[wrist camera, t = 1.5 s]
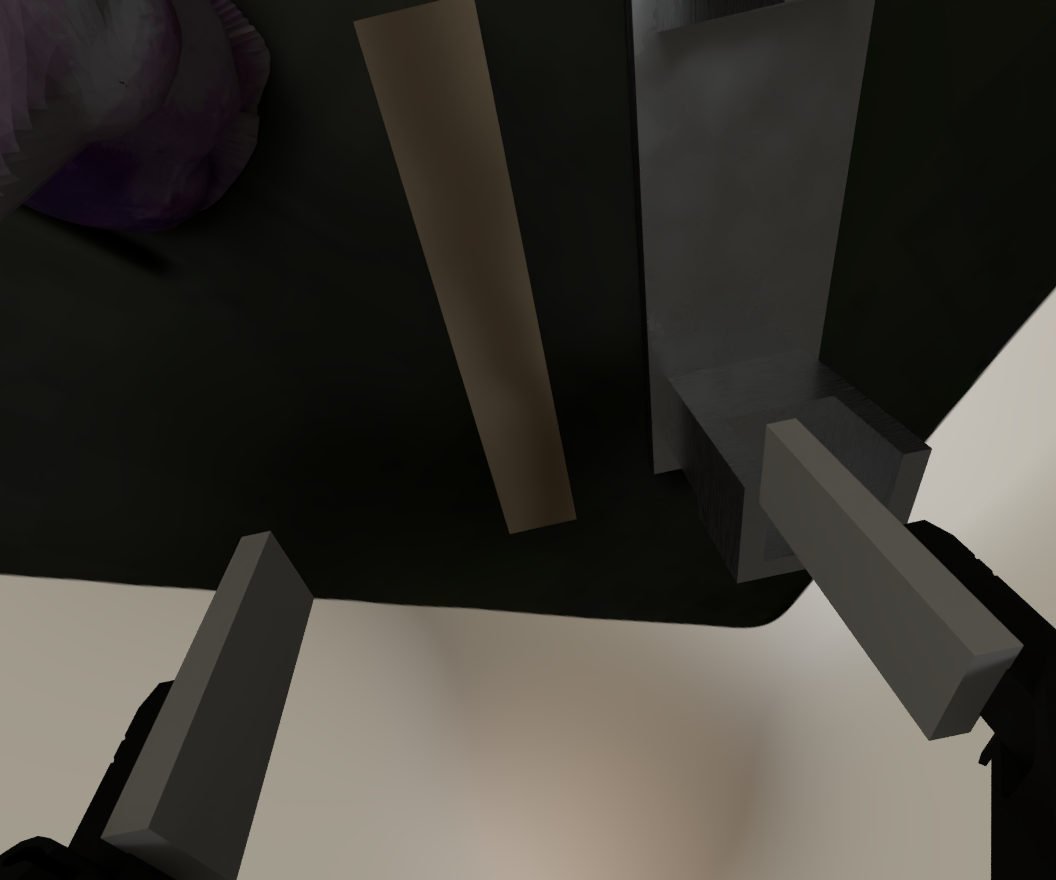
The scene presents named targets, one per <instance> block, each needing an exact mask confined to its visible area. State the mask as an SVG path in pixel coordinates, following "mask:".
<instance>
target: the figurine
mask: <svg viewBox="0 0 1056 880" xmlns="http://www.w3.org/2000/svg"><path fill="white" fill-rule="evenodd" d="M270 64H271V57H270V52H269V50H268V48H267V47H266V46H265V41H264V39H263V38H262V37H261V35H260V34H259V33H258V31H257V30H256V29H255V28H254V26H252V25H250V24H249V21H248V19H246V18H244V17H243V14H242V12H241V11H239V10H238V9H237V6H236V5H235V4H233V3H232V2H231V0H0V222H2V221H3V220H4V219H5V218H6V217H7V216H8V215H10V214H11V213H12V212H13V211H14V210H15V209H17V208H18V207H19V206H20V205H21V204H24V205H26V206H28V207H30V208H33V209H35V210H37V211H39V212H42V213H44V214H47V215H50V216H53V217H56V218H59V219H62V220H65V221H69V222H73V223H76V224H80V225H84V226H89V227H96V228H104V229H113V230H121V231H130V232H138V233H148V232H156V231H164V230H168V229H172V228H174V227H176V226H178V225H179V224H181V223H182V222H184V221H186V220H187V219H189V218H190V217H192V216H194V215H195V214H197V213H198V212H200V211H202V210H204V209H206V208H208V207H209V206H211V205H213V204H214V203H215V202H216V201H217V200H219V199H220V198H221V197H222V196H223V195H224V193H225V192H226V191H227V190H228V188H229V187H230V186H231V185H232V183H233V182H234V181H235V180H236V178H237V177H238V176H239V175H240V173H241V172H242V171H243V169H244V168H245V166H246V164H247V163H248V161H249V159H250V156H251V155H252V153H253V152H254V149H255V147H256V146H257V138H258V129H259V117H260V116H258V110H257V105H258V104H259V103H260V98H261V95H262V93H263V90H264V87H265V85H266V83H267V80H268V77H269V74H270Z"/></svg>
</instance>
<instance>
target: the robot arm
mask: <svg viewBox="0 0 1056 880" xmlns="http://www.w3.org/2000/svg"><path fill="white" fill-rule="evenodd" d="M759 504H760V505H761V507H762V508H763V509H764V511H765V512H766V514H767V515H768V516H769V518H770V519H771V521H772V522H773V523H774V525H775V526H776V528H777V529H778V530H779V532H780V533H781V535H782V536H783V537H784V539H785V540H786V542H787V543H788V544H789V546H790V547H791V549H792V550H793V551H794V553H795V554H796V556H797V557H798V558H799V560H800V561H801V563H802V564H803V565H804V567H805V568H806V570H807V571H808V572H809V574H810V575H811V577H812V578H813V579H814V581H815V582H816V583H817V585H818V586H819V587H820V589H821V591H822V592H823V593H824V595H825V596H826V597H827V599H828V600H829V602H830V603H831V605H832V606H833V607H834V609H835V610H836V611H837V612H838V614H839V616H840V617H841V618H842V620H843V621H844V622H845V624H846V625H847V627H848V628H849V630H850V631H851V632H852V634H853V635H854V637H855V638H856V639H857V641H858V642H859V644H860V645H861V646H862V648H863V649H864V650H865V652H866V653H867V655H868V656H869V658H870V659H871V660H872V662H873V663H874V665H875V666H876V667H877V669H878V670H879V671H880V673H881V674H882V676H883V677H884V679H885V680H886V681H887V683H888V684H889V686H890V687H891V688H892V690H893V691H894V693H895V694H896V695H897V697H898V698H899V700H900V701H901V702H902V704H903V705H904V707H905V708H906V709H907V711H908V712H909V713H910V715H911V716H912V718H913V719H914V721H915V722H916V723H917V725H918V726H919V728H920V729H921V730H922V732H923V733H924V735H925V736H926V737H927V739H928V740H929V741H930V740H935V739H940V738H945V737H949V736H954V735H959V734H964V733H969V732H971V730H972V728H973V727H974V725H975V723H976V721H977V720H978V719H979V717H980V716H981V717H982V718H983V719H984V720H985V722H986V723H987V724H988V725H989V726H990V728H991V729H992V730H993V731H994V733H995V734H994V735H993V736H992V738H991V740H990V741H989V743H988V744H987V745H986V747H985V749H984V750H983V751H982V753H981V756H980V759H979V762H978V763H979V764H982V765H984V766H986V765H987V764H988V763H989V761H990V760H991V762H992V764H991V765H992V766H991V770H992V771H991V773H992V774H991V880H1056V629H1055V628H1054V627H1053V626H1052V625H1051V624H1050V623H1048V622H1047V621H1046V620H1045V619H1044V618H1043V617H1042V616H1041V615H1040V614H1038V613H1037V612H1036V611H1035V610H1034V609H1033V608H1032V607H1031V606H1030V605H1029V604H1028V603H1027V602H1026V601H1024V600H1023V599H1022V598H1021V597H1020V596H1019V595H1018V594H1017V593H1016V592H1015V591H1013V590H1012V589H1011V588H1010V587H1009V586H1008V585H1007V584H1006V583H1005V582H1004V581H1003V580H1002V579H1000V578H999V577H998V576H994V575H993V573H992V570H991V569H990V568H988V567H987V566H986V565H985V564H984V563H983V562H982V561H980V559H976V558H975V555H974V554H973V553H972V552H971V551H970V550H969V549H968V548H967V547H966V546H964V545H963V544H962V543H961V542H960V541H959V540H958V539H957V538H956V537H955V536H954V535H952V534H950V533H948V532H946V531H944V530H943V529H941V528H939V527H937V526H935V525H933V524H931V523H930V522H928V521H926V520H922V521H917V522H912V523H908V524H902V523H901V522H900V521H899V520H897V519H896V518H895V517H894V516H893V515H892V514H891V513H890V512H889V511H888V510H887V509H886V508H885V507H884V506H883V505H882V504H881V503H880V502H879V501H878V500H877V499H876V498H875V497H874V496H873V495H872V494H871V493H870V492H869V491H868V490H867V489H866V488H865V487H864V486H863V485H862V484H861V483H860V482H859V481H858V480H857V479H856V478H855V477H854V476H853V475H852V474H851V473H850V472H849V471H848V470H847V469H846V468H845V467H844V466H843V465H842V464H841V463H840V462H839V461H838V460H837V459H836V458H835V457H834V456H833V455H832V454H831V453H830V452H829V451H828V450H827V449H826V448H825V447H824V446H823V445H822V444H821V443H820V442H819V441H818V440H817V439H816V438H815V437H814V436H813V435H812V434H811V433H810V432H809V431H808V430H807V429H806V428H805V427H804V426H803V425H802V424H801V423H800V422H799V421H798V420H797V419H796V418H794V419H790V420H785V421H780V422H776V423H771V424H767V425H766V435H765V446H764V456H763V466H762V477H761V487H760V497H759ZM313 600H314V597H313V595H312V594H311V592H310V591H309V589H308V588H307V586H306V585H305V583H304V582H303V580H302V579H301V577H300V575H299V574H298V572H297V571H296V569H295V568H294V566H293V565H292V563H291V562H290V560H289V559H288V557H287V556H286V554H285V552H284V551H283V549H282V548H281V546H280V545H279V543H278V542H277V540H276V539H275V537H274V536H273V534H272V533H271V531H268V532H263V533H258V534H254V535H249V536H244V537H242V538H241V540H240V542H239V544H238V546H237V548H236V551H235V553H234V555H233V557H232V559H231V561H230V563H229V565H228V568H227V570H226V572H225V574H224V576H223V578H222V580H221V582H220V585H219V587H218V589H217V591H216V593H215V595H214V597H213V600H212V602H211V604H210V606H209V608H208V610H207V612H206V614H205V617H204V619H203V621H202V623H201V625H200V627H199V629H198V631H197V634H196V636H195V638H194V640H193V642H192V644H191V646H190V649H189V651H188V653H187V655H186V657H185V659H184V662H183V664H182V666H181V668H180V670H179V672H178V674H177V676H176V678H175V680H172V681H168V682H163V683H159V684H158V685H157V687H156V688H155V689H154V690H153V692H152V693H151V694H150V695H149V696H148V697H147V699H146V700H145V701H144V702H143V704H142V705H141V706H140V707H139V708H138V710H137V712H136V714H135V716H134V719H133V720H132V722H131V724H130V726H129V728H128V730H127V732H126V734H125V740H123V741H122V742H121V744H120V746H119V748H118V750H117V752H116V754H115V756H114V762H113V763H111V764H110V766H109V767H108V769H107V771H106V773H105V776H104V777H103V779H102V781H101V783H100V785H99V787H98V789H97V791H96V794H95V795H94V797H93V799H92V801H91V803H90V805H89V807H88V809H87V811H86V813H85V815H84V817H83V819H82V821H81V823H80V825H79V827H78V829H77V831H76V833H75V835H74V837H73V839H72V841H71V843H70V845H69V847H68V848H67V847H66V846H64V845H62V844H60V843H58V842H56V841H54V840H52V839H51V838H46V837H40V836H37V837H34V838H31V839H28V840H24V841H21V842H20V843H18V844H16V845H15V846H13V847H12V848H10V849H9V850H7V851H6V852H4V853H3V854H1V855H0V880H236V879H237V876H238V872H239V869H240V865H241V861H242V858H243V854H244V850H245V847H246V843H247V839H248V836H249V832H250V829H251V825H252V821H253V818H254V814H255V810H256V807H257V803H258V800H259V795H260V792H261V788H262V785H263V781H264V778H265V774H266V770H267V767H268V763H269V760H270V756H271V752H272V748H273V745H274V741H275V738H276V734H277V730H278V727H279V723H280V719H281V716H282V712H283V709H284V705H285V701H286V698H287V694H288V690H289V687H290V683H291V679H292V676H293V672H294V668H295V665H296V661H297V657H298V654H299V650H300V646H301V643H302V640H303V636H304V632H305V628H306V625H307V621H308V617H309V614H310V610H311V607H312V603H313Z"/></svg>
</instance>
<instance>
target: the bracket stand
mask: <svg viewBox="0 0 1056 880" xmlns="http://www.w3.org/2000/svg"><path fill="white" fill-rule="evenodd" d="M874 4H875V0H625V14H626V32H627V51H628V70H629V88H630V107H631V125H632V144H633V163H634V181H635V200H636V219H637V237H638V256H639V274H640V293H641V312H642V330H643V349H644V368H645V386H646V405H647V423H648V442H649V461H650V466H651V468H652V470H653V472H654V474H657V473H662V472H667V471H672V470H676V469H682V470H683V472H684V474H685V476H686V477H687V479H688V481H689V482H690V484H691V486H692V488H693V489H694V491H695V493H696V494H697V496H698V498H699V510H698V514H699V516H700V518H701V519H702V521H703V523H704V525H705V527H706V528H707V530H708V532H709V534H710V536H711V537H712V539H713V541H714V543H715V545H716V546H717V548H718V550H719V552H720V553H721V555H722V557H723V559H724V561H725V562H726V564H727V566H728V568H729V570H730V571H731V573H732V575H733V577H734V579H735V580H736V582H737V583H740V582H745V581H750V580H755V579H760V578H764V577H769V576H774V575H779V574H784V573H788V572H793V571H798V570H803V569H806V568H805V567H804V565H803V564H802V563H801V561H800V560H799V558H798V557H797V556H796V554H795V553H794V551H793V550H792V549H791V547H790V546H789V544H788V543H787V542H786V540H785V539H784V537H783V536H782V535H781V533H780V532H779V530H778V529H777V528H776V526H775V525H774V523H773V522H772V521H771V519H770V518H769V516H768V515H767V514H766V512H765V511H764V509H763V508H762V507H761V505H760V504H759V497H760V487H761V477H762V466H763V456H764V446H765V435H766V425H767V424H771V423H776V422H780V421H785V420H790V419H794V418H796V419H797V420H798V421H799V422H800V423H801V424H802V425H803V426H804V427H805V428H806V429H807V430H808V431H809V432H810V433H811V434H812V435H813V436H814V437H815V438H816V439H817V440H818V441H819V442H820V443H821V444H822V445H823V446H824V447H825V448H826V449H827V450H828V451H829V452H830V453H831V454H832V455H833V456H834V457H835V458H836V459H837V460H838V461H839V462H840V463H841V464H842V465H843V466H844V467H845V468H846V469H847V470H848V471H849V472H850V473H851V474H852V475H853V476H854V477H855V478H856V479H857V480H858V481H859V482H860V483H861V484H862V485H863V486H864V487H865V488H866V489H867V490H868V491H869V492H870V493H871V494H872V495H873V496H874V497H875V498H876V499H877V500H878V501H879V502H880V503H881V504H882V505H883V506H884V507H885V508H886V509H887V510H888V511H889V512H890V513H891V514H892V515H893V516H894V517H895V518H896V519H897V520H899V521H900V522H901V523H902V524H907V522H908V519H909V516H910V513H911V510H912V507H913V504H914V501H915V498H916V495H917V492H918V489H919V486H920V483H921V480H922V477H923V474H924V471H925V468H926V465H927V462H928V459H929V456H930V453H931V450H932V448H931V447H929V446H928V445H927V444H925V443H924V442H923V441H922V440H920V439H919V438H918V437H916V436H915V435H914V434H913V433H911V432H910V431H909V430H907V429H906V428H905V427H904V426H902V425H901V424H900V423H898V422H897V421H896V420H895V419H893V418H892V417H891V416H889V415H888V414H887V413H886V412H884V411H883V410H882V409H880V408H879V407H878V406H876V405H875V404H874V403H873V402H871V401H870V400H869V399H867V398H866V397H865V396H864V395H862V394H861V393H860V392H858V391H857V390H856V389H855V388H853V387H852V386H851V385H849V384H848V383H847V382H846V381H844V380H843V379H842V378H840V377H839V376H838V375H836V374H835V373H834V372H833V371H831V370H830V369H829V368H827V367H826V366H825V365H824V364H822V363H821V362H820V361H818V357H819V351H820V345H821V338H822V332H823V326H824V319H825V313H826V307H827V300H828V294H829V288H830V281H831V275H832V269H833V263H834V256H835V250H836V244H837V237H838V231H839V225H840V218H841V212H842V206H843V199H844V193H845V187H846V180H847V174H848V168H849V161H850V155H851V149H852V143H853V136H854V130H855V124H856V117H857V111H858V105H859V98H860V92H861V86H862V79H863V73H864V67H865V60H866V54H867V48H868V42H869V35H870V29H871V23H872V16H873V10H874Z"/></svg>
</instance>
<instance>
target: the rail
mask: <svg viewBox="0 0 1056 880" xmlns="http://www.w3.org/2000/svg"><path fill="white" fill-rule="evenodd" d="M354 26H355V29H356V32H357V35H358V39H359V42H360V45H361V48H362V52H363V55H364V58H365V62H366V65H367V68H368V71H369V75H370V78H371V81H372V84H373V88H374V91H375V94H376V98H377V101H378V104H379V107H380V111H381V114H382V117H383V120H384V124H385V127H386V130H387V134H388V137H389V140H390V143H391V147H392V150H393V153H394V156H395V160H396V163H397V166H398V170H399V173H400V176H401V179H402V183H403V186H404V189H405V192H406V196H407V199H408V202H409V206H410V209H411V212H412V215H413V219H414V222H415V225H416V228H417V232H418V235H419V238H420V242H421V245H422V248H423V251H424V255H425V258H426V261H427V264H428V268H429V271H430V274H431V278H432V281H433V284H434V287H435V291H436V294H437V297H438V300H439V304H440V307H441V310H442V314H443V317H444V320H445V323H446V327H447V330H448V333H449V336H450V340H451V343H452V346H453V350H454V353H455V356H456V359H457V363H458V366H459V369H460V372H461V376H462V379H463V382H464V386H465V389H466V392H467V395H468V399H469V402H470V405H471V408H472V412H473V415H474V418H475V422H476V425H477V428H478V431H479V435H480V438H481V441H482V444H483V448H484V451H485V454H486V458H487V461H488V464H489V467H490V471H491V474H492V477H493V480H494V484H495V487H496V490H497V494H498V497H499V500H500V503H501V507H502V510H503V513H504V516H505V520H506V523H507V526H508V530H509V533H510V534H512V533H517V532H521V531H525V530H530V529H534V528H539V527H543V526H548V525H552V524H556V523H561V522H565V521H570V520H574V519H576V514H575V509H574V504H573V499H572V494H571V488H570V483H569V478H568V473H567V468H566V463H565V458H564V453H563V448H562V443H561V438H560V433H559V428H558V422H557V417H556V412H555V407H554V402H553V397H552V392H551V387H550V382H549V377H548V372H547V367H546V362H545V357H544V351H543V346H542V341H541V336H540V331H539V326H538V321H537V316H536V311H535V306H534V301H533V296H532V291H531V285H530V280H529V275H528V270H527V265H526V260H525V255H524V250H523V245H522V240H521V235H520V230H519V225H518V220H517V214H516V209H515V204H514V199H513V194H512V189H511V184H510V179H509V174H508V169H507V164H506V159H505V154H504V148H503V143H502V138H501V133H500V128H499V123H498V118H497V113H496V108H495V103H494V98H493V93H492V88H491V82H490V77H489V72H488V67H487V62H486V57H485V52H484V47H483V42H482V37H481V32H480V27H479V22H478V17H477V11H476V6H475V1H474V0H440V1H436V2H432V3H428V4H424V5H419V6H415V7H411V8H407V9H403V10H399V11H395V12H391V13H387V14H383V15H379V16H375V17H370V18H366V19H362V20H358V21H354Z"/></svg>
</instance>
